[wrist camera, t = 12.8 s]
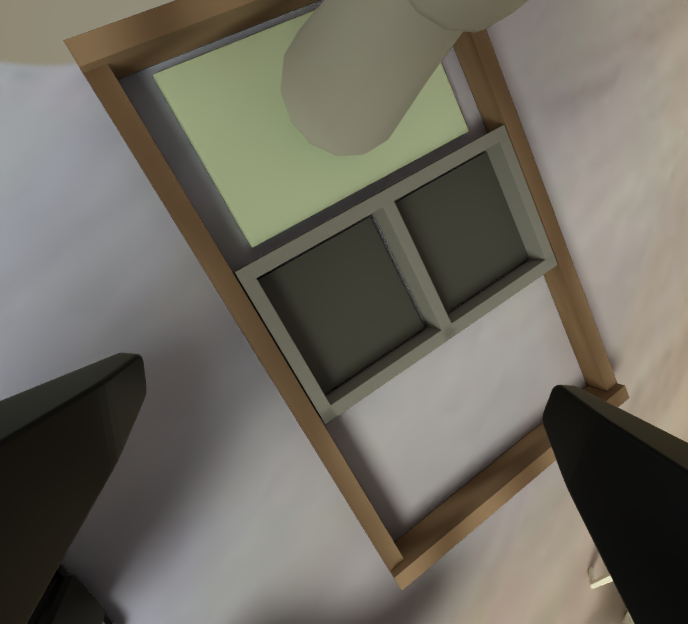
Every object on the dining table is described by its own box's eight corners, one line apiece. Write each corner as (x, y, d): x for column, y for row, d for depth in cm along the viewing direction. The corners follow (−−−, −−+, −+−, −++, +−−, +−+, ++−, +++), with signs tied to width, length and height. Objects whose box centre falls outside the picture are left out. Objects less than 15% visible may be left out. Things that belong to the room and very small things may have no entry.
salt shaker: (254, 59, 19) (344, -320, 7) (361, 36, 21) (587, -307, 8) (297, 182, 20) (439, 42, 8) (395, 151, 22) (640, -4, 10)
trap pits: (317, 414, 22) (325, 424, 21) (232, 272, 20) (235, 272, 19) (538, 265, 26) (557, 264, 25) (486, 133, 24) (504, 124, 23)
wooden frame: (386, 566, 24) (401, 590, 23) (78, 65, 17) (63, 40, 15) (601, 389, 29) (629, 397, 27) (426, -65, 22) (447, -97, 20)
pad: (251, 248, 20) (252, 247, 20) (153, 78, 18) (152, 74, 18) (464, 133, 24) (468, 131, 23) (401, -21, 22) (405, -26, 21)
